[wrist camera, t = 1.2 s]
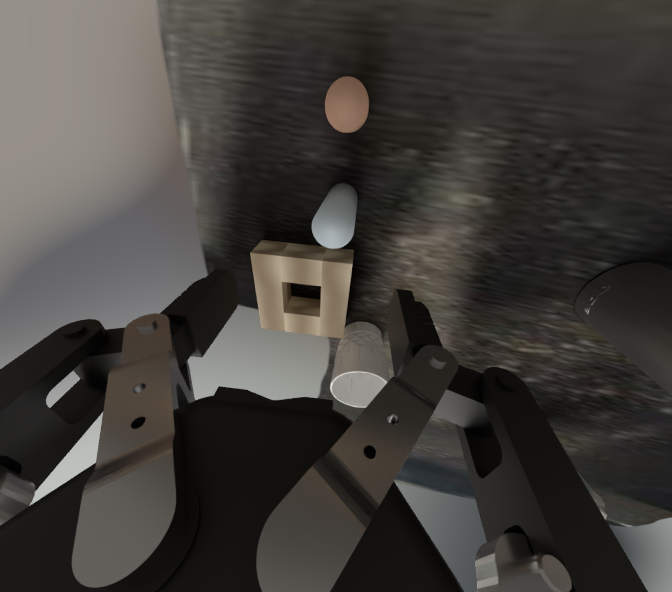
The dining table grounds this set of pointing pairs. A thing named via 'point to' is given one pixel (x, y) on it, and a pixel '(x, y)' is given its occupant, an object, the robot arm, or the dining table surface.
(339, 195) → the long dowel
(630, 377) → the dining table surface
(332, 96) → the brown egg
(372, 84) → the dining table surface
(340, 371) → the white cup
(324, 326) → the hole block
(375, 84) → the dining table surface
